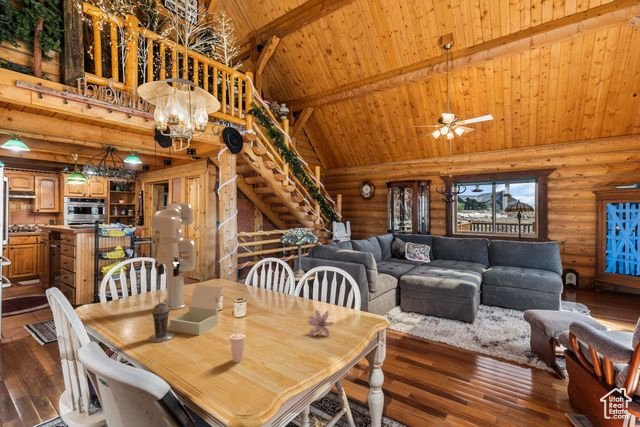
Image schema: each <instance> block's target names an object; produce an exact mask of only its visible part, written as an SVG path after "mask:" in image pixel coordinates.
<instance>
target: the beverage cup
mask: <svg viewBox="0 0 640 427" xmlns="http://www.w3.org/2000/svg"><path fill="white" fill-rule="evenodd" d="M157 297H158V298H157V299H158V304H156V305H154V307H153V309H152V318H153V324H154V334H155V335H156V338H163V337H165V336H166V334H167V332H168V323H169V315H170V310H169V307H168V306H167V305H166V303H162V302H161V298H160V294H158V295H157Z"/></svg>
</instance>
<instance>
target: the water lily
mask: <svg viewBox="0 0 640 427" xmlns="http://www.w3.org/2000/svg"><path fill="white" fill-rule="evenodd" d="M314 314H315V316H313V315H308V319H309V320H308V321H307V324H308V325H310V326H312V327H313V328H311V330H310V331H309V333H308V336H312V335H313V336H317V335H318V334H319V332H320V331H321V332H322V334H324V336H325V337H327V338H330V332H329V329H328V328H327V327H332V326H333V325H335V323H334V322H333V321H328V318H329V314H330V313H329V310H326V311H325V312H324V314H322V316H321V313H320V311H319V310H318V309H315V311H314Z"/></svg>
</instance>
